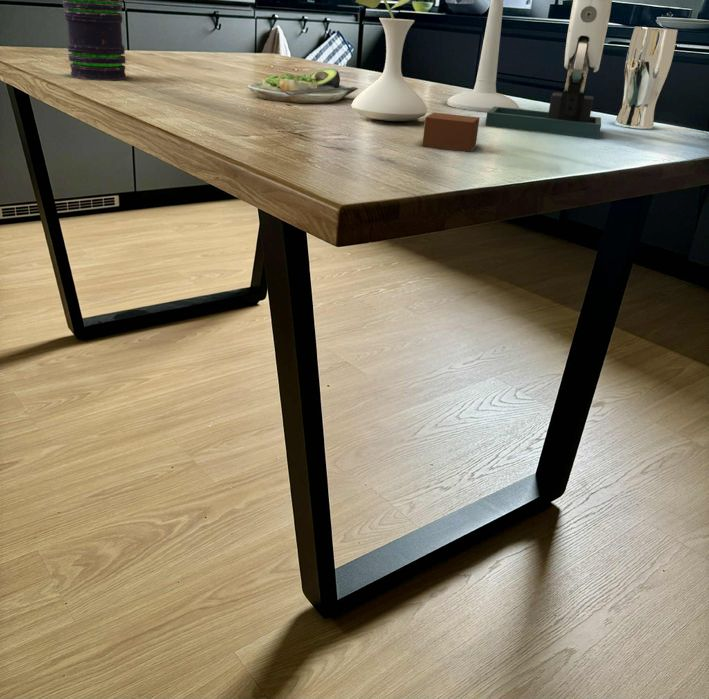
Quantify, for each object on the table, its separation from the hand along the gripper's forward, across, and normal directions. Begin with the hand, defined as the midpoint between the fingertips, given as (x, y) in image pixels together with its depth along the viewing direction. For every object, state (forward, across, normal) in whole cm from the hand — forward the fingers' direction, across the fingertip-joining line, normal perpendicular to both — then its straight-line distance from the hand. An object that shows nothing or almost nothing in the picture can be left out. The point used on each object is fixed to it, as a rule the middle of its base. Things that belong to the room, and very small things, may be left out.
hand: (569, 117), depth 108 cm
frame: (+2, 0, +4) cm, 4 cm away
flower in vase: (+2, -9, +27) cm, 28 cm away
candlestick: (+2, +19, +16) cm, 25 cm away
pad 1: (+2, -25, +14) cm, 29 cm away
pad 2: (0, 0, 0) cm, 0 cm away
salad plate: (+2, +6, +46) cm, 46 cm away
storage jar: (+3, +3, +85) cm, 85 cm away
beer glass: (+2, +15, -10) cm, 18 cm away
